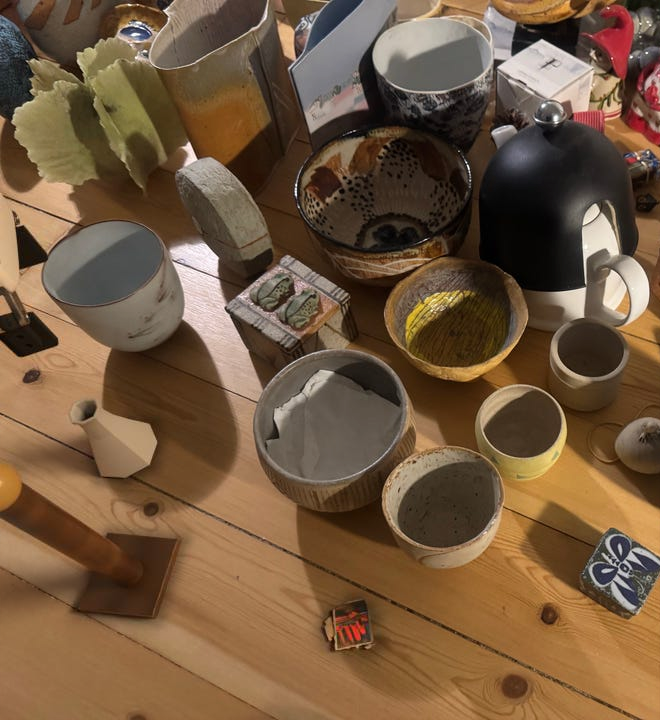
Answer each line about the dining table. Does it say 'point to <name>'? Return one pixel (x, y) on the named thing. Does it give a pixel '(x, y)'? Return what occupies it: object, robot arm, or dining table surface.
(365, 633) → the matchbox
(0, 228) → the robot arm
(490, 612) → the dining table surface
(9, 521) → the post
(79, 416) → the flask
